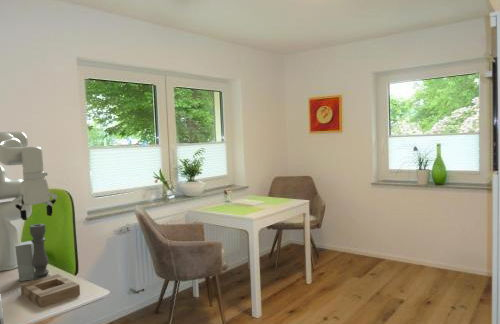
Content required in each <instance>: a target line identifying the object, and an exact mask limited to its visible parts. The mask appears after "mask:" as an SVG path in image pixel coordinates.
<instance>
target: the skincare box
mask: <svg viewBox="0 0 500 324" xmlns="http://www.w3.org/2000/svg"><path fill="white" fill-rule="evenodd" d="M31 241H32V240H27V241H21V242H20V243H19V242H18V245H16V246H15V249H16V257H17V265H18V268H17V271H18V278H19V279H18V280H19V282H24V281H33V277H34V275H33V274H34V272H35V271H36V270H35V268H34V267H33V266H32V260H33V254H34V244H33V243H32V242H31Z"/></svg>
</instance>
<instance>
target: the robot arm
mask: <svg viewBox="0 0 500 324" xmlns="http://www.w3.org/2000/svg"><path fill="white" fill-rule="evenodd" d="M28 140H29V139H28V136H27V135H26V134H25V133H24V132H22V131H0V163H1V164H2V165H5V166H19V165H21V166H22V176H23V179H22V178H11V179H9V178H8V175H7V171H6V169H5V168H4V167H3V166H2V165H1V164H0V272H5V271H10V270H14V269H18V265H17V257H16V249H15V246H16V245H18V244H19V239H18V238H19V237H18V230H17V227H16V226H15V225H13V224H12V223H11V222H13V221H18V220H23V221H27V220H28V219H27V218H30V216H32V212H33V209H32V208H33V207H32V206H33V205H37V204H38V205H39V204H46V215H47V216H49V217H51V216H53V207H54V204H55V203H56V202H57V199H58V194H55V193H53V192H51V191H50V188H49V184H48V182H47V179H46V178H45V177H47V176H48V175H49V174H48V172H45V170H44V161H43V160H44V159H43V158H44V157H43V150H42V149H43V148H41V147H40V146H28V143H29V141H28ZM51 197H52V199H51ZM11 199H13V200H11ZM3 200H6V201H3ZM7 200H8V201H7ZM1 201H2V202H1Z"/></svg>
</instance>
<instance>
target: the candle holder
mask: <svg viewBox="0 0 500 324" xmlns="http://www.w3.org/2000/svg"><path fill="white" fill-rule="evenodd" d="M46 232H47V231H46V224H45V223H36V224H30V225H29V235H30V236H31V237H32V239H31V240H30V241H31V242H32V243H33V244H34V254H33V260H32V266H33V267H34V268H35V270H36V271H35V272H34V274H33V275H34V277H33V280H32V281H34V280H38V279H41V278H45V277H48V276H51V274H49V272H50V271H49V270H48V268H47V266H48V265H49V257H48V254H47V253H46V248H45V241H46V240H47V239H46V237H45V235H46Z"/></svg>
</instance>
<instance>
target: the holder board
mask: <svg viewBox="0 0 500 324" xmlns="http://www.w3.org/2000/svg"><path fill="white" fill-rule="evenodd" d="M20 293H21V295H22V296H23V297H25V298H26V299H28V300H29V301H30V302H32V303H34V304H35V305H37V306H38V307H40V308H44V307H47V306H50V305H55V304H57V303H60V302H63V301H65V300H68V299H71V298H75V297H78V296H80V295H81V290H80V284H79V283H77V282H75V281H73V280H71V279H70V278H67V277H65V276H62V275H60V273H57V274H56V273H55V274H53V275H50V276H48V277H45V278H41V279H38V280H34V281H33V280H30V281H27V282H25V283H20Z"/></svg>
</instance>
